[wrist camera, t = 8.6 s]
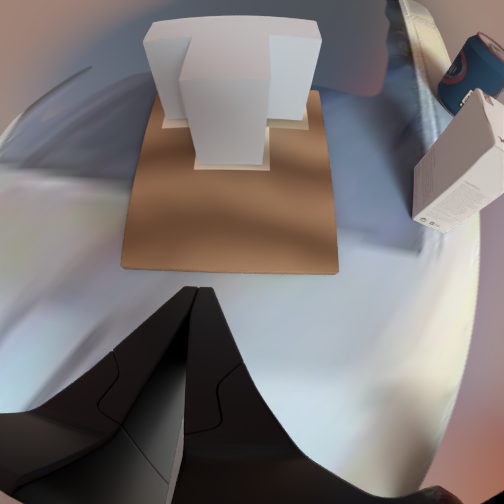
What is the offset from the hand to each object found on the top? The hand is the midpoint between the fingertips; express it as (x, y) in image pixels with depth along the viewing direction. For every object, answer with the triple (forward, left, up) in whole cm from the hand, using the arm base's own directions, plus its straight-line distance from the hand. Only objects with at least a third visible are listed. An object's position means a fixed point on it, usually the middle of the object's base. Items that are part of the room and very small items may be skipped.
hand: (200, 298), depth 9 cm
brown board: (+9, +8, -12) cm, 17 cm away
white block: (+12, +10, -11) cm, 19 cm away
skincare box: (+20, -7, -13) cm, 24 cm away
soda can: (+38, -5, -13) cm, 40 cm away
